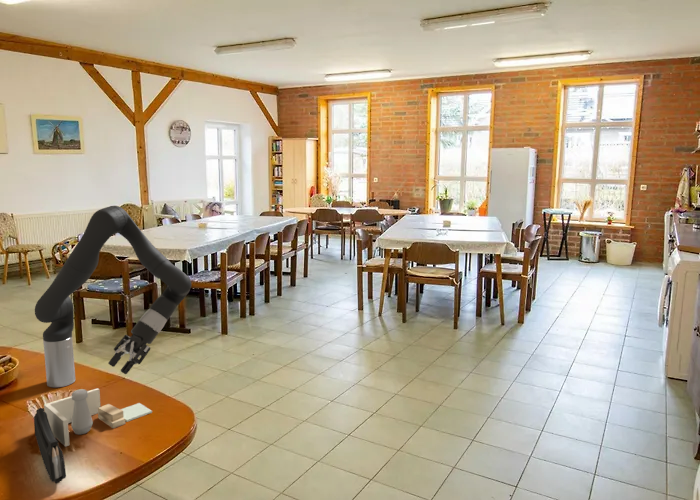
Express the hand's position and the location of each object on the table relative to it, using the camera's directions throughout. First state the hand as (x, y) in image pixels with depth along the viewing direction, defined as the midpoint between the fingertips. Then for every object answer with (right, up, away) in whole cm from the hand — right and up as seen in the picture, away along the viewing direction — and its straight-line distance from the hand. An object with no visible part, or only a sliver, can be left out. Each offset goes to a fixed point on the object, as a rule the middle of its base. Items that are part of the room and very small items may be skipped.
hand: (116, 369), depth 164 cm
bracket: (-9, -17, -4) cm, 20 cm away
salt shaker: (-8, -18, -6) cm, 20 cm away
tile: (+3, -16, +6) cm, 17 cm away
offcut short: (-2, -15, +1) cm, 15 cm away
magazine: (-8, -21, -22) cm, 31 cm away
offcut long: (-2, -17, +1) cm, 17 cm away
